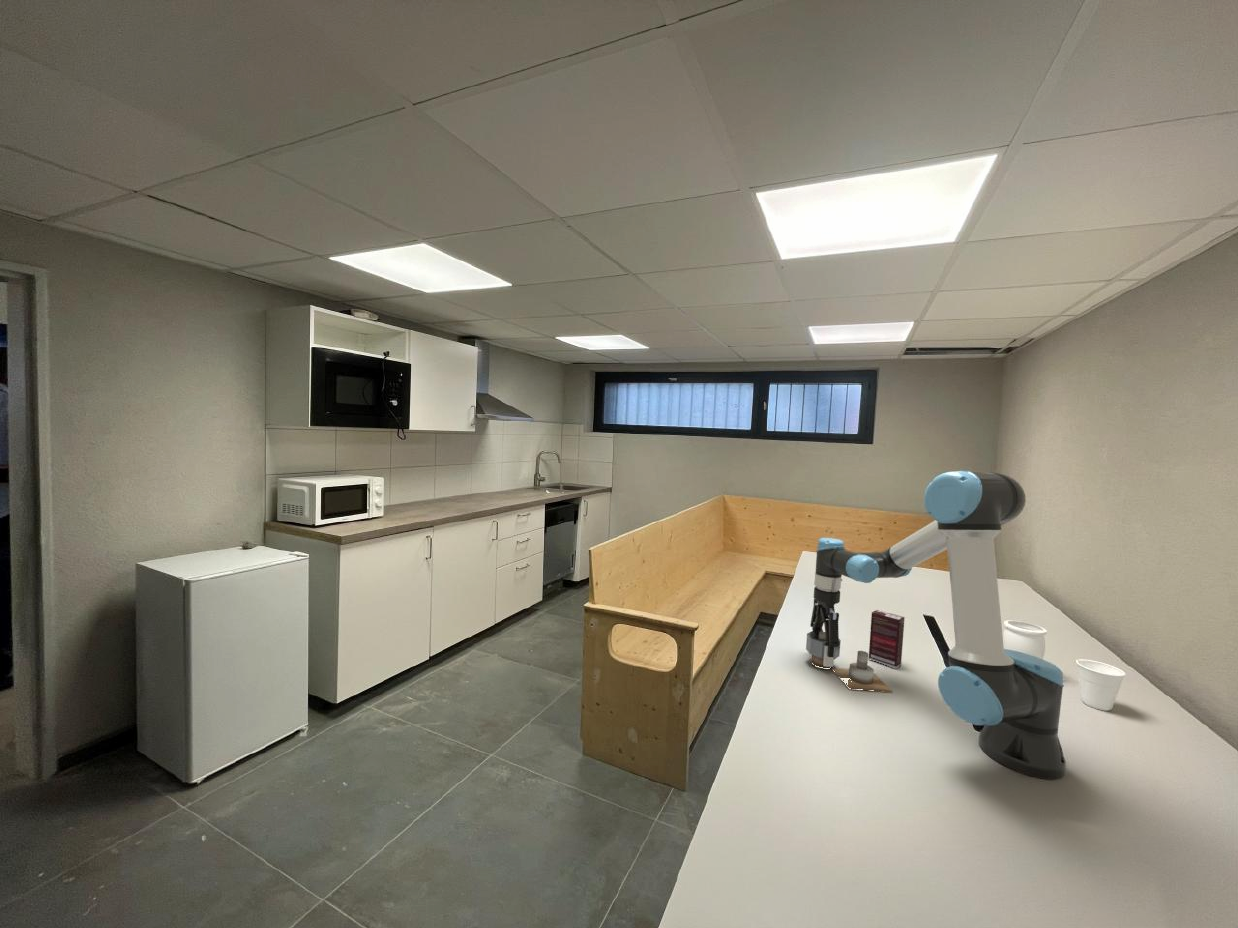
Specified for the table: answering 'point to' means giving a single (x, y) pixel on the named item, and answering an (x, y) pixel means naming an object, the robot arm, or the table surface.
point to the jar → (1024, 638)
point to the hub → (862, 675)
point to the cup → (1099, 683)
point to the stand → (817, 660)
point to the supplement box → (886, 638)
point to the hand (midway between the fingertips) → (821, 658)
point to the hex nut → (818, 645)
